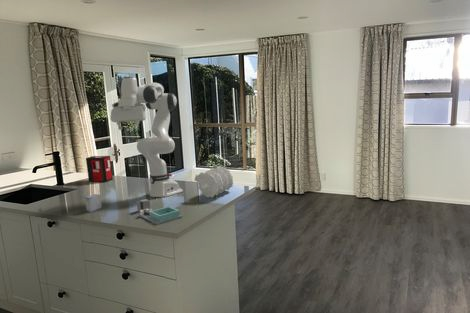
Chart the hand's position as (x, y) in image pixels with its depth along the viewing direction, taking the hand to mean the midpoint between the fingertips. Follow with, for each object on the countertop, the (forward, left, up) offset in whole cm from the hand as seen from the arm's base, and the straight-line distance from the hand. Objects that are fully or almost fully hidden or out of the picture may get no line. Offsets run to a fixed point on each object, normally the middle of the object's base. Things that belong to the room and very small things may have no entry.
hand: (127, 129), depth 200 cm
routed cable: (-4, +11, -48) cm, 49 cm away
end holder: (-7, +21, -49) cm, 53 cm away
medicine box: (+15, -27, -49) cm, 58 cm away
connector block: (-5, -1, -49) cm, 49 cm away
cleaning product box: (-17, -105, -49) cm, 117 cm away
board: (-6, +17, -49) cm, 52 cm away
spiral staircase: (-54, +5, -49) cm, 73 cm away
